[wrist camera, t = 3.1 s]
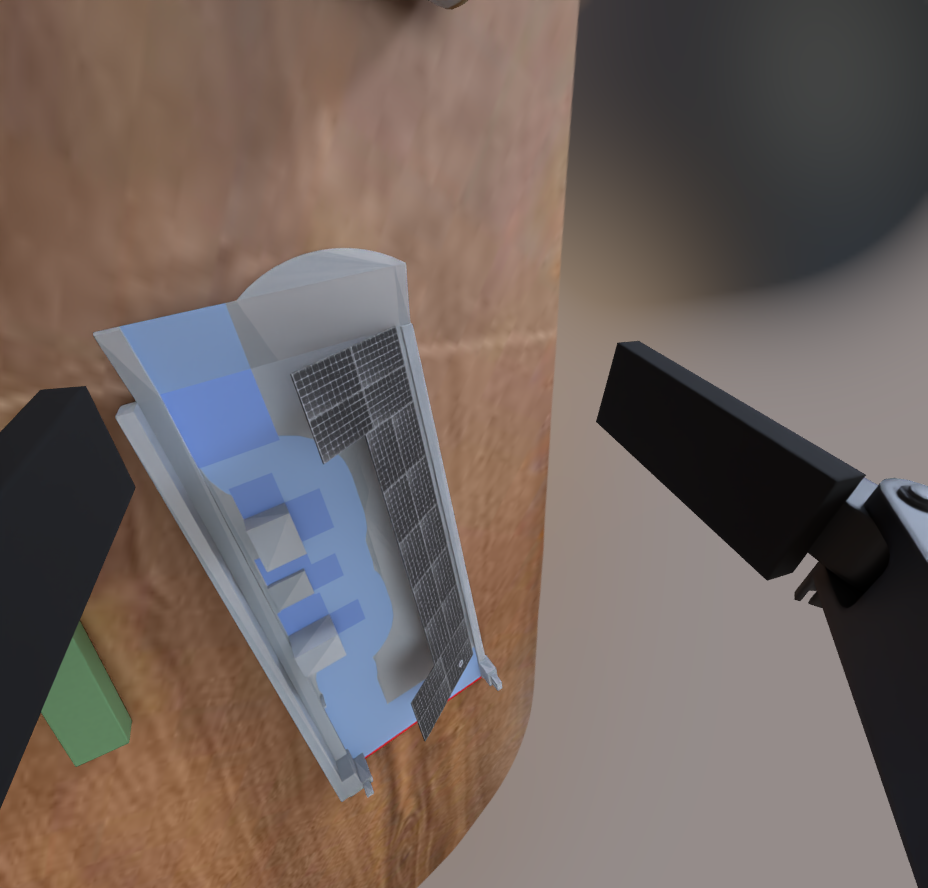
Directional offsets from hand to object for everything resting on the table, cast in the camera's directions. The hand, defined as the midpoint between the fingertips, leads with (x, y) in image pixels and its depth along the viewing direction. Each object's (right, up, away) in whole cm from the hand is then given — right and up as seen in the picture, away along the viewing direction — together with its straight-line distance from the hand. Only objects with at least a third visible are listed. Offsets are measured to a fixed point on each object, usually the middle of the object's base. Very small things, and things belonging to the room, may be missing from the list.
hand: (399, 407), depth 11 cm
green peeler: (-23, -13, +14) cm, 30 cm away
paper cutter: (-7, -10, +24) cm, 27 cm away
